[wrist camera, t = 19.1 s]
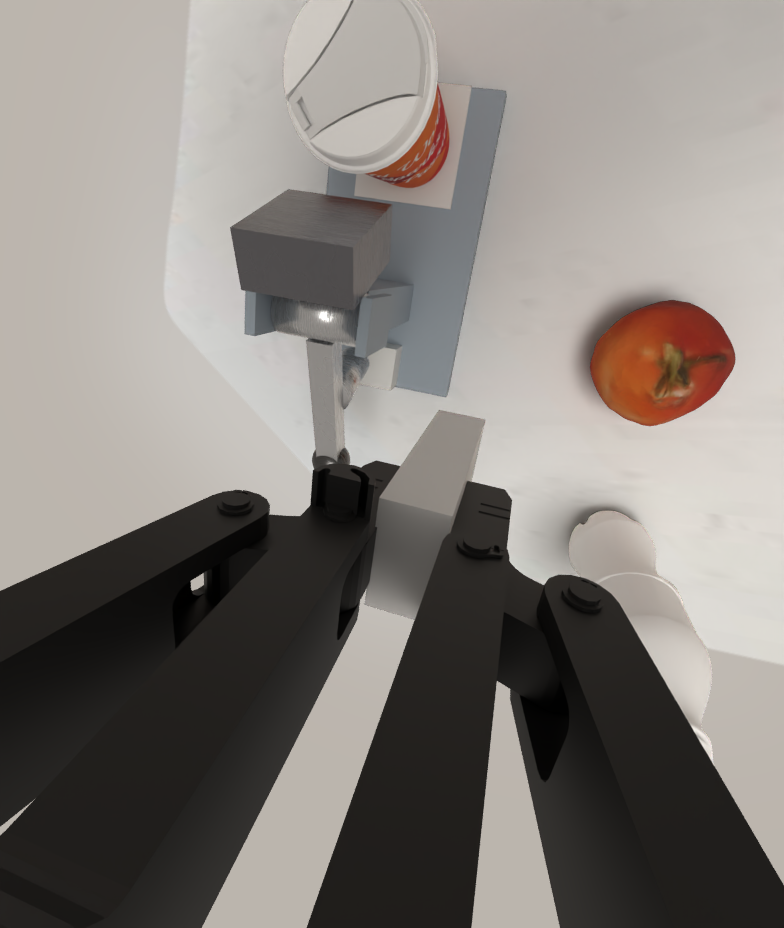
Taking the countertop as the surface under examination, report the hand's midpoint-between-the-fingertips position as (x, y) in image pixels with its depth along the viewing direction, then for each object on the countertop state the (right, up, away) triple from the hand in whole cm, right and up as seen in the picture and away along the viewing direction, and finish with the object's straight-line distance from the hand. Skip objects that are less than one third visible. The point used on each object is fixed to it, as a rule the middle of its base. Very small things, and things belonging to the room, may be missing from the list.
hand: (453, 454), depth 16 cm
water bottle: (+19, -7, +31) cm, 37 cm away
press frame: (-1, +18, +26) cm, 32 cm away
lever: (-5, +9, +19) cm, 21 cm away
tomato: (+19, +9, +25) cm, 32 cm away
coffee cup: (0, +24, +22) cm, 33 cm away
